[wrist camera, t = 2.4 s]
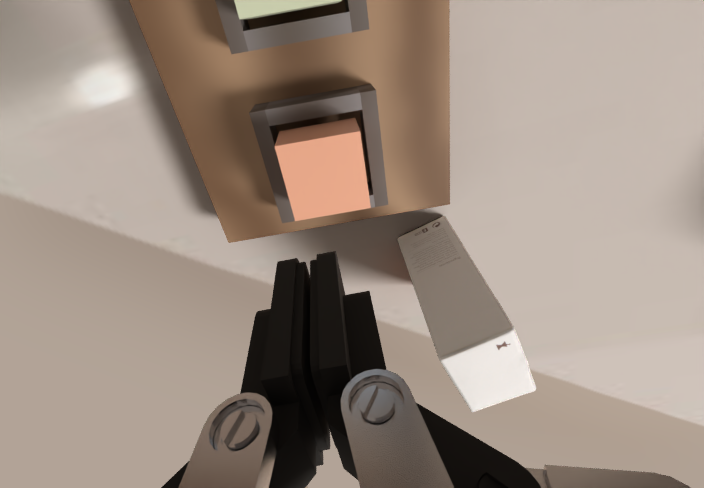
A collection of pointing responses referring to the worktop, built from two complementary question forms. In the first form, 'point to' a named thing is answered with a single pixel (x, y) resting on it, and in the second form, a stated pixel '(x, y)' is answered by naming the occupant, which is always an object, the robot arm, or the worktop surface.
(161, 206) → the worktop surface
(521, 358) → the skincare box
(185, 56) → the console
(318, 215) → the terracotta button
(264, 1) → the green button
